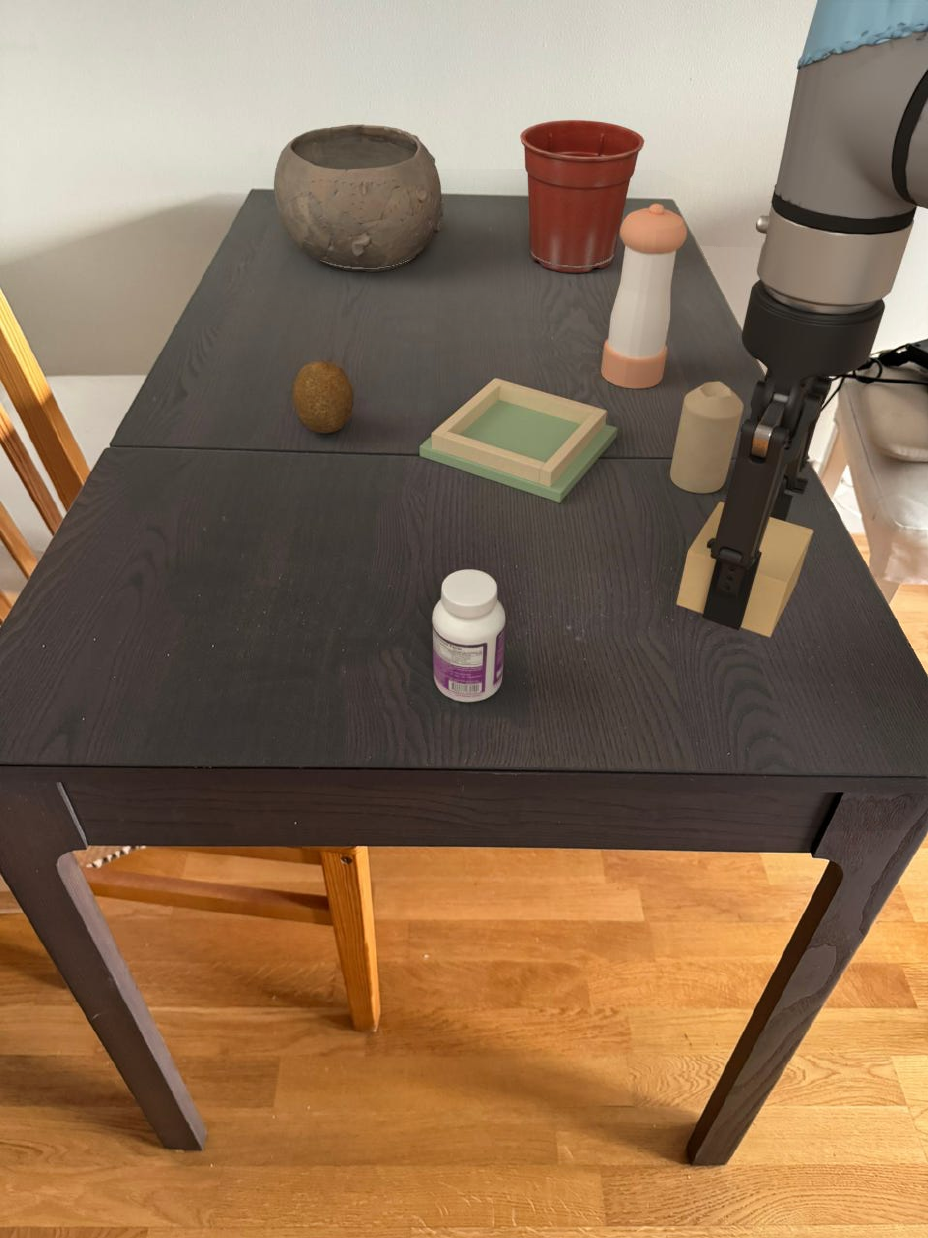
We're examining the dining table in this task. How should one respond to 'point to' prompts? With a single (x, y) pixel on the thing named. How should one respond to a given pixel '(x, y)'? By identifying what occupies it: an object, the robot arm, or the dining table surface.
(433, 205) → the bowl
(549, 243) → the flower pot
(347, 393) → the fruit
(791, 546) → the tan rectangular block
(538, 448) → the base pad
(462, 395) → the dining table surface
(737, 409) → the candle
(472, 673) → the pill bottle
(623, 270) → the pepper shaker
